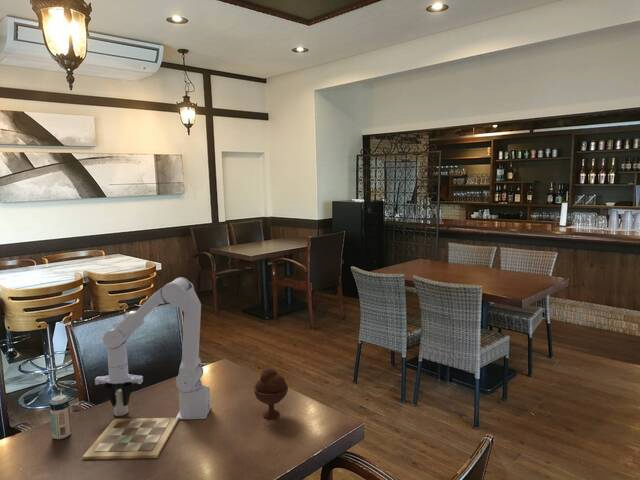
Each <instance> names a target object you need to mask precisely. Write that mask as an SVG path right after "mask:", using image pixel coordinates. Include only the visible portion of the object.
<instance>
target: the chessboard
mask: <svg viewBox="0 0 640 480" xmlns="http://www.w3.org/2000/svg"><path fill="white" fill-rule="evenodd" d="M179 420H180V419H179V418H176V417H149V418H148V417H144V418H143V417H142V418H141V417H140V418H138V417H136V418H135V417H134V418H114V419H113V420H112V421H111V422H110V423H109V425H108V426H107V427H106V428H105V429H104V431H102V432H101V434H100V435H99V436H98V437H97V439H96V440H95V441H94V442H93V443H92V444H91V446H90V447H89V448H88V450H87V451H86V452H85V453H84V454H83V455H82V460H111V459H112V460H115V459H116V460H118V459H123V460H125V459H157V458H158V457H159V455H160V454H161V452H162V450H163V448H164V447H165V445H166V443H167V442H168V439H169V438H170V436H171V434H172V433H173V431H174V429H175V427H176V425H177V424H178V422H179Z"/></svg>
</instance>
